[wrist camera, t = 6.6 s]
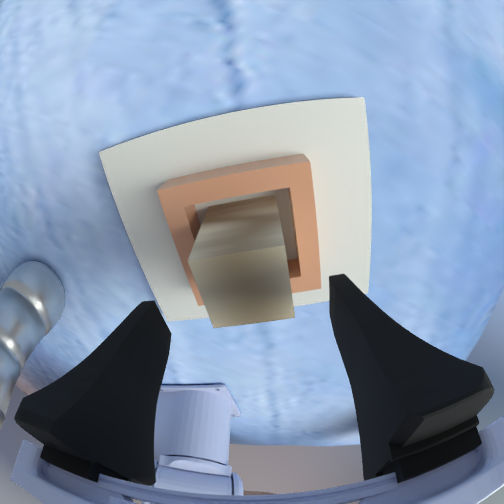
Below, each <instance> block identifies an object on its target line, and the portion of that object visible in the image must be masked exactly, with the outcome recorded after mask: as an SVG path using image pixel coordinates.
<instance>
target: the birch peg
mask: <svg viewBox="0 0 504 504" xmlns="http://www.w3.org/2000/svg"><path fill="white" fill-rule="evenodd" d="M188 263H189V266H190V269H191V271H192V274H193V277H194V279H195V282H196V285H197V287H198V290H199V292H200V295H201V298H202V300H203V303H204V305H205V308H206V310H207V313H208V315H209V318H210V320H211V323H212V325H213V328H218V327H228V326H237V325H245V324H253V323H261V322H268V321H275V320H282V319H289V318H295V313H294V306H293V298H292V291H291V284H290V277H289V270H288V263H287V256H286V250H285V243H284V238H283V233H282V228H281V222H280V217H279V212H278V207H277V202H276V197H275V194H274V195H268V196H262V197H256V198H251V199H245V200H240V201H234V202H229V203H224V204H219V205H213V206H209V207H208V209H207V212H206V214H205V217H204V219H203V222H202V224H201V227H200V230H199V232H198V235H197V237H196V240H195V243H194V245H193V248H192V251H191V253H190V256H189V259H188Z"/></svg>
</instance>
